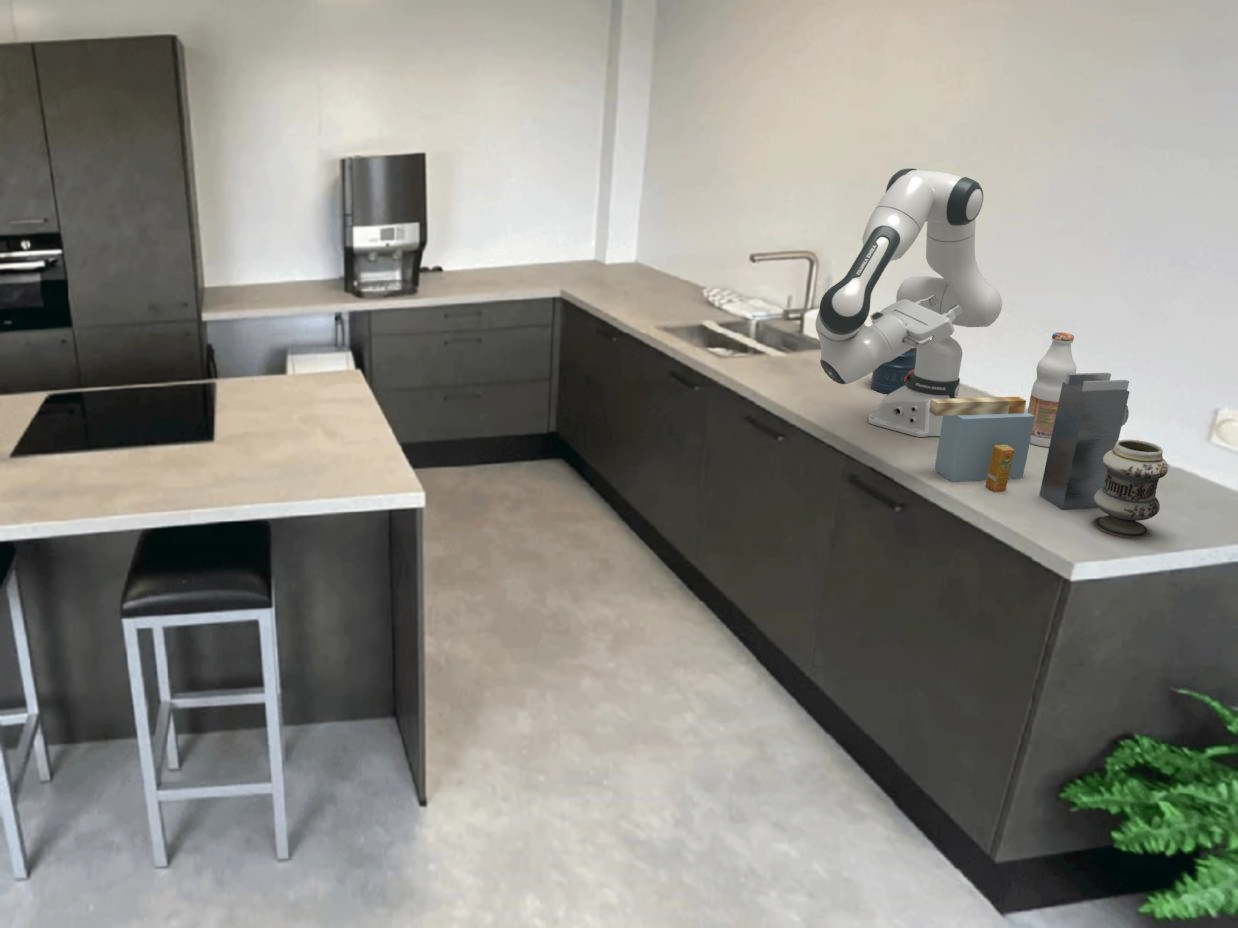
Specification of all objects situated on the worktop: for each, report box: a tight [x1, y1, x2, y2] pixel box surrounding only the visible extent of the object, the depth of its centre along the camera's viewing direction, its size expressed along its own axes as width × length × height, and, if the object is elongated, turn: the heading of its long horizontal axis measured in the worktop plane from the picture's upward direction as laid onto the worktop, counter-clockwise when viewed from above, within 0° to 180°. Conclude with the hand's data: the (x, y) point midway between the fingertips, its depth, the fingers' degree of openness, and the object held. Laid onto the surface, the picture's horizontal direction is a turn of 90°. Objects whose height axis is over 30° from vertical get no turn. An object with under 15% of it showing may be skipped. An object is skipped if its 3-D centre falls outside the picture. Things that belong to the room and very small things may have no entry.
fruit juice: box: [1027, 332, 1077, 448], centre depth 248 cm, size 9×9×28 cm
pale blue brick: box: [934, 410, 1035, 483], centre depth 226 cm, size 18×8×15 cm, turn 103°
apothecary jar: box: [1094, 439, 1169, 539], centre depth 200 cm, size 12×12×18 cm
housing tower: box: [1039, 372, 1130, 511], centre depth 211 cm, size 12×8×28 cm, turn 103°
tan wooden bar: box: [929, 396, 1027, 416], centre depth 223 cm, size 22×3×3 cm, turn 102°
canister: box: [870, 346, 917, 395], centre depth 290 cm, size 13×13×18 cm
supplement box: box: [985, 445, 1015, 492], centre depth 219 cm, size 3×3×10 cm
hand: (948, 303), depth 213 cm, fingers open, 8 cm apart
